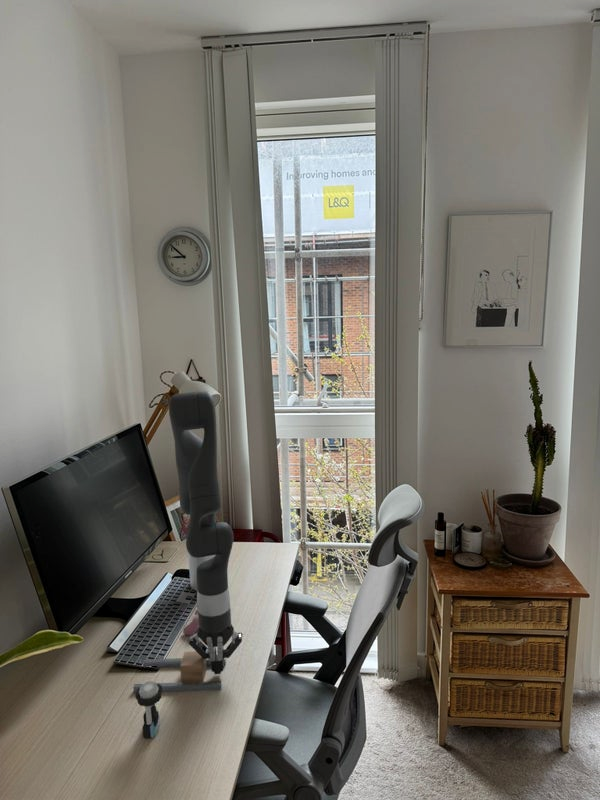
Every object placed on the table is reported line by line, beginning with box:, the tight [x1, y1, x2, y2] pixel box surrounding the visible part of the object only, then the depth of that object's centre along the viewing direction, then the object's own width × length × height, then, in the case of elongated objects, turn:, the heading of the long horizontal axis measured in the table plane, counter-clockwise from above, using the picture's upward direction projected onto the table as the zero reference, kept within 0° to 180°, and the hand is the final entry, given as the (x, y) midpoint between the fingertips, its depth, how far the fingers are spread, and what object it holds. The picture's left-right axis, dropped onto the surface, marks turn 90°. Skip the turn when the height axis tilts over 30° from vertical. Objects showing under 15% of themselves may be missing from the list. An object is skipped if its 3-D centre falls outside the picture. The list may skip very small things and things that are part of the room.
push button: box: [134, 680, 163, 739], centre depth 111 cm, size 7×5×10 cm
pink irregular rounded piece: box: [182, 608, 199, 636], centre depth 146 cm, size 10×5×7 cm, turn 169°
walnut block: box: [179, 650, 207, 682], centre depth 126 cm, size 5×5×5 cm
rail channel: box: [132, 657, 227, 694], centre depth 127 cm, size 10×20×2 cm, turn 91°
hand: (217, 671), depth 127 cm, fingers closed
